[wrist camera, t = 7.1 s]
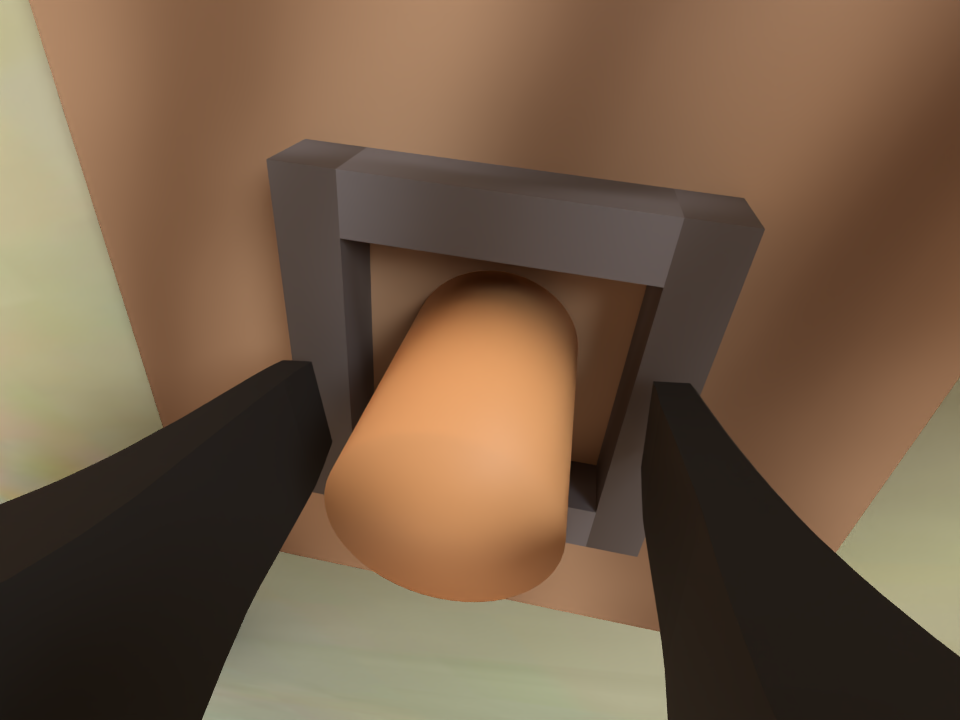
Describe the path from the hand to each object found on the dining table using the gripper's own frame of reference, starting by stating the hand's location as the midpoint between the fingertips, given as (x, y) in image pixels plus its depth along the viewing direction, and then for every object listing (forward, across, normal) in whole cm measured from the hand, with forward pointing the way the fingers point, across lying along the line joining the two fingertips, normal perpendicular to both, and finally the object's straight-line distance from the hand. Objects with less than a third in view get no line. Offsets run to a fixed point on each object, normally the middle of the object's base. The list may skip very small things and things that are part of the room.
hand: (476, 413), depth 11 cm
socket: (+3, 0, 0) cm, 3 cm away
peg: (+2, 0, 0) cm, 2 cm away
